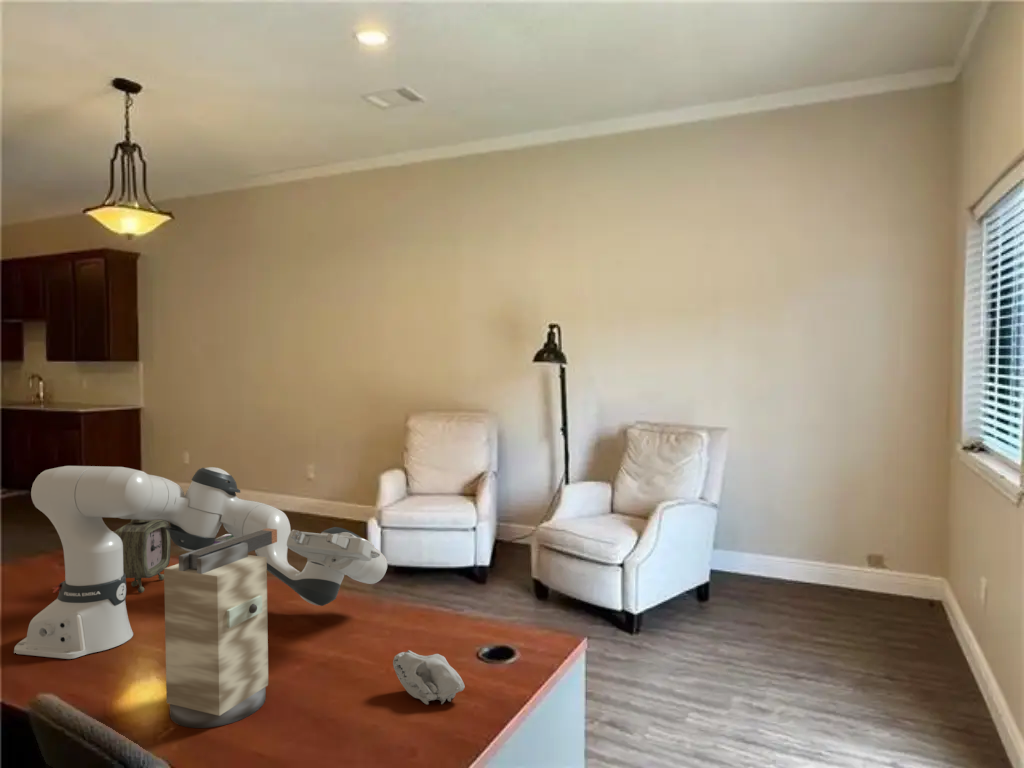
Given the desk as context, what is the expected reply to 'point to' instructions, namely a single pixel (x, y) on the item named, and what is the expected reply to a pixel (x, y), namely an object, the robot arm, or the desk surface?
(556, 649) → the desk surface
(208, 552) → the bar
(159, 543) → the tabletop clock
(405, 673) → the skull
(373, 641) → the desk surface
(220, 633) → the level stand
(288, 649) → the desk surface
